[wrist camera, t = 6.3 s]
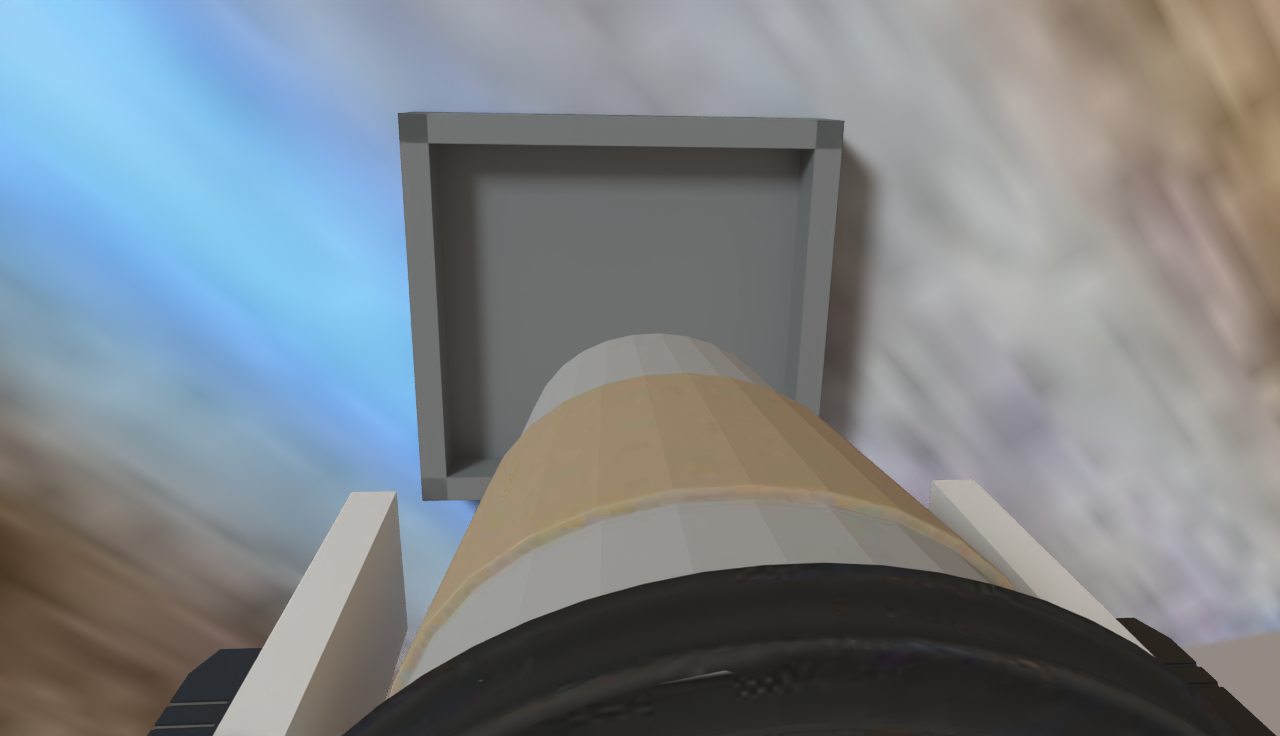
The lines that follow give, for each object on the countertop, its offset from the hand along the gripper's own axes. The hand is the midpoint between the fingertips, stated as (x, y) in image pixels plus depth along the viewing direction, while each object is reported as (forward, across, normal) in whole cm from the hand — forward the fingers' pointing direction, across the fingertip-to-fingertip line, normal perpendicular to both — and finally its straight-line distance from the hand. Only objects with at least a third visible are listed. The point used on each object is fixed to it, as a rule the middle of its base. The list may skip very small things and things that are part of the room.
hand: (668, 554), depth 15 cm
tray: (+22, 0, 0) cm, 22 cm away
